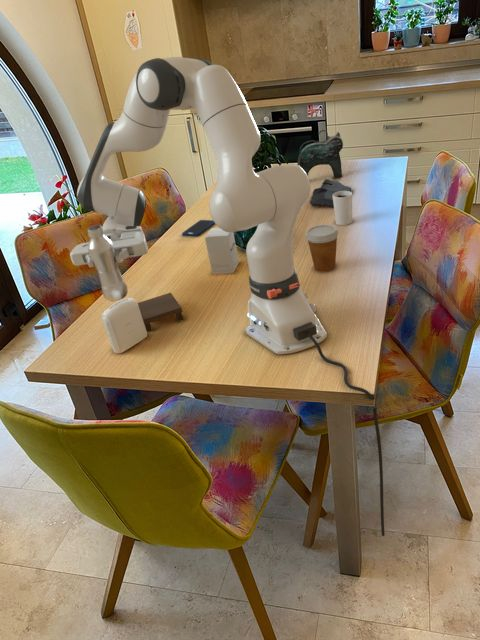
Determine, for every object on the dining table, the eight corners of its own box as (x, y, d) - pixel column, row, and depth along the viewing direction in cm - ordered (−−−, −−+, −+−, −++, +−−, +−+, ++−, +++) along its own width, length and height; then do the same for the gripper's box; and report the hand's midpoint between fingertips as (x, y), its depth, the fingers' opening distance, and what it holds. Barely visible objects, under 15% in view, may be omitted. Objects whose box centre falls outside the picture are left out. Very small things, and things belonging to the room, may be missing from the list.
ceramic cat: (343, 173, 245) (340, 125, 234) (346, 177, 240) (343, 128, 229) (298, 180, 245) (293, 133, 235) (300, 185, 240) (295, 136, 229)
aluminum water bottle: (134, 294, 151) (113, 223, 140) (116, 306, 147) (92, 234, 136) (118, 290, 154) (96, 221, 144) (100, 302, 150) (75, 231, 139)
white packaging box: (234, 273, 176) (227, 235, 169) (211, 274, 178) (203, 237, 171) (239, 263, 182) (233, 226, 175) (217, 264, 184) (210, 227, 177)
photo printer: (119, 355, 145) (105, 314, 138) (110, 351, 147) (95, 310, 140) (150, 336, 151) (138, 295, 144) (140, 332, 153) (128, 292, 146)
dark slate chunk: (304, 209, 214) (302, 197, 212) (315, 190, 232) (314, 178, 229) (344, 208, 210) (343, 195, 207) (352, 188, 227) (352, 176, 224)
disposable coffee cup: (346, 262, 171) (343, 225, 164) (331, 276, 165) (328, 238, 158) (318, 259, 176) (315, 222, 169) (303, 272, 170) (299, 235, 163)
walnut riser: (184, 320, 156) (181, 307, 153) (146, 332, 153) (142, 320, 151) (173, 304, 164) (170, 292, 162) (137, 316, 161) (133, 303, 159)
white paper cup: (333, 226, 197) (331, 198, 191) (335, 219, 202) (333, 191, 197) (353, 224, 195) (351, 196, 190) (353, 217, 201) (352, 190, 195)
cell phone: (181, 235, 210) (181, 233, 209) (201, 221, 220) (200, 219, 219) (197, 236, 207) (197, 234, 206) (217, 222, 216) (216, 220, 216)
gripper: (73, 236, 154) (61, 257, 142) (146, 224, 153) (140, 244, 142) (80, 258, 157) (69, 279, 146) (152, 246, 157) (146, 267, 145)
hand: (104, 262), depth 144 cm, fingers closed on aluminum water bottle, 6 cm apart
